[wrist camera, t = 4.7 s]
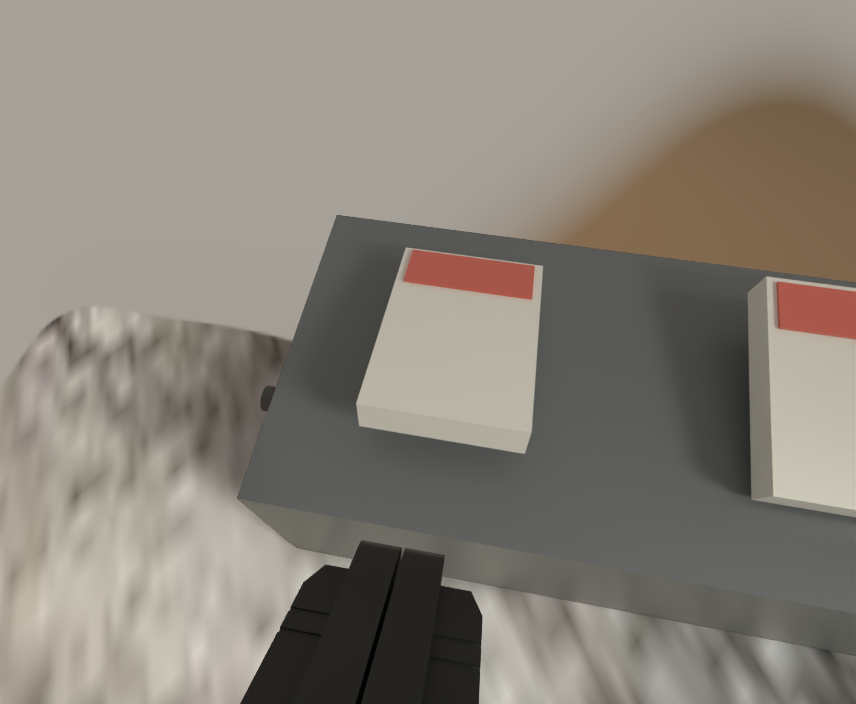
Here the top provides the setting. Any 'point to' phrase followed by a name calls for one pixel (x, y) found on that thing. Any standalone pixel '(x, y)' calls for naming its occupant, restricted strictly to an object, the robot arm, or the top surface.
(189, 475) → the top surface
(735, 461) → the switch box
